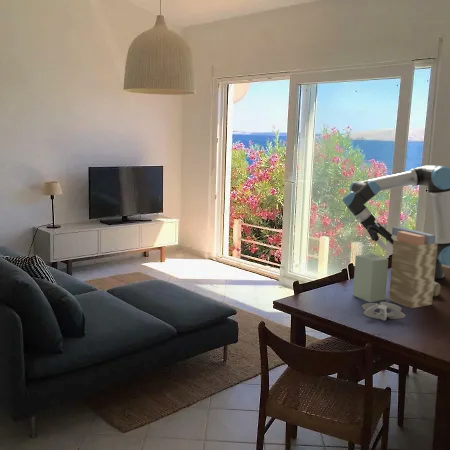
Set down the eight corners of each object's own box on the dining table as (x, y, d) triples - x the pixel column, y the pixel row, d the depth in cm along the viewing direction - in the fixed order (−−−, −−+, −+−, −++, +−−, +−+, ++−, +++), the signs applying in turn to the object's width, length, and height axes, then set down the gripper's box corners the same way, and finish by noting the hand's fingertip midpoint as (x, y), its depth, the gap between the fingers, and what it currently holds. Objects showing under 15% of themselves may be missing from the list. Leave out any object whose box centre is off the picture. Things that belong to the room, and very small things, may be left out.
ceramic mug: (434, 298, 262) (436, 283, 261) (418, 294, 267) (420, 280, 266) (442, 294, 270) (444, 279, 268) (427, 290, 275) (428, 276, 274)
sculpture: (369, 307, 246) (370, 294, 245) (411, 317, 234) (413, 304, 233) (352, 317, 233) (353, 303, 232) (396, 328, 221) (397, 314, 219)
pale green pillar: (352, 295, 264) (355, 255, 260) (368, 292, 269) (370, 253, 265) (369, 302, 254) (372, 260, 250) (385, 299, 258) (388, 258, 255)
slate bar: (391, 234, 266) (392, 226, 265) (397, 234, 268) (398, 226, 267) (428, 244, 245) (429, 235, 244) (434, 243, 246) (435, 235, 246)
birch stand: (409, 296, 265) (414, 237, 259) (432, 304, 253) (437, 243, 247) (388, 299, 258) (393, 239, 253) (411, 308, 246) (416, 245, 241)
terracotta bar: (396, 239, 253) (397, 231, 252) (402, 239, 255) (403, 231, 254) (417, 245, 242) (418, 236, 241) (424, 244, 244) (424, 235, 243)
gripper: (351, 224, 287) (376, 254, 288) (369, 220, 263) (396, 252, 263) (361, 215, 288) (386, 245, 289) (380, 210, 264) (407, 243, 264)
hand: (391, 249), depth 276 cm, fingers open, 13 cm apart
